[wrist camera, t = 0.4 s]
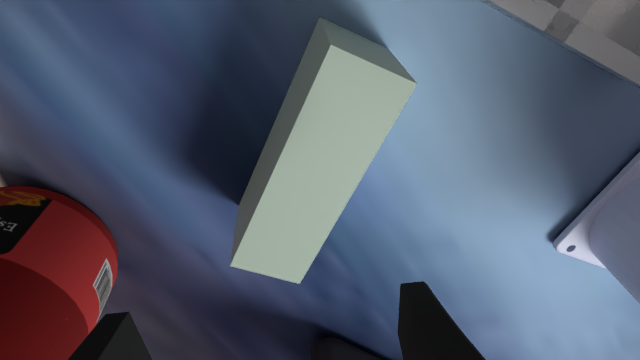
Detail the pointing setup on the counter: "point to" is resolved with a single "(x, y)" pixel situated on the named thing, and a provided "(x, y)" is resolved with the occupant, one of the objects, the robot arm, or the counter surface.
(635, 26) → the rack
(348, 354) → the leaning round-cornered charcoal block
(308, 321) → the counter surface
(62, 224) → the canned food
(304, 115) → the pale green rectangular box
